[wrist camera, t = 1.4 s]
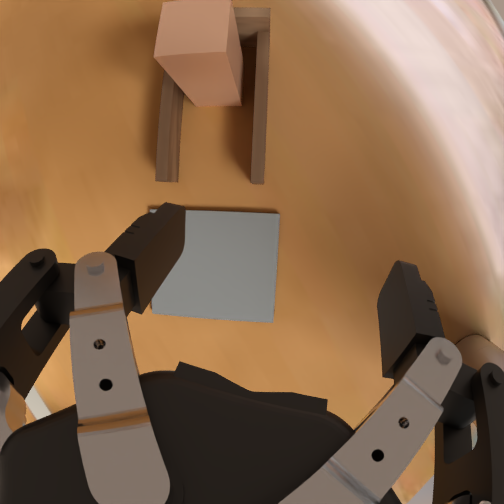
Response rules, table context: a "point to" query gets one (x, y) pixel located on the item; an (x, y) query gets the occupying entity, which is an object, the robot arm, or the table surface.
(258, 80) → the brown u-shaped rail
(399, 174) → the table surface
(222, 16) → the block
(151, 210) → the mat
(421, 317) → the robot arm
